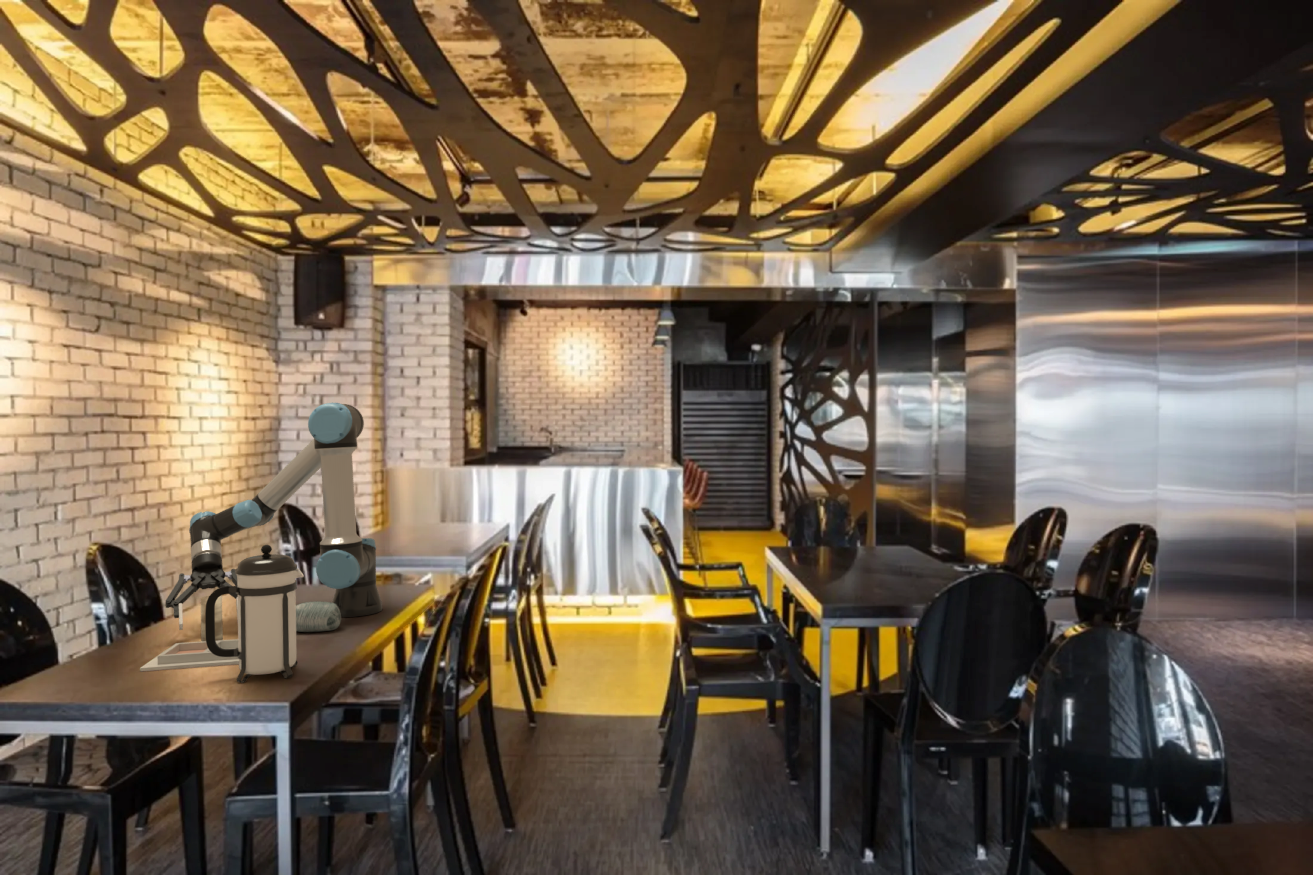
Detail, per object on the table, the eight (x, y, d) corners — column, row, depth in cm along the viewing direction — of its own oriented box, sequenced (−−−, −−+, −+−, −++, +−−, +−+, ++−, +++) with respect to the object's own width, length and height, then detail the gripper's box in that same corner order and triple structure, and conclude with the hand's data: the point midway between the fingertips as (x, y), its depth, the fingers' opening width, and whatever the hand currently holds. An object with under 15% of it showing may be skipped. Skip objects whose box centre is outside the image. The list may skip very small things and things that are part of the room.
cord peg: (225, 638, 213) (224, 594, 213) (219, 643, 208) (218, 598, 208) (204, 640, 212) (204, 595, 212) (198, 644, 207) (197, 599, 207)
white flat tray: (276, 645, 205) (276, 634, 205) (260, 662, 190) (260, 651, 190) (166, 653, 199) (165, 642, 199) (140, 671, 184) (139, 659, 184)
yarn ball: (350, 613, 227) (335, 587, 222) (340, 636, 218) (324, 609, 214) (307, 624, 228) (290, 598, 223) (295, 647, 219) (278, 621, 215)
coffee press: (275, 660, 191) (273, 538, 191) (317, 670, 183) (315, 542, 183) (204, 680, 176) (202, 547, 176) (245, 691, 168) (244, 552, 168)
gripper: (255, 563, 230) (261, 624, 217) (154, 572, 216) (155, 638, 204) (256, 547, 226) (263, 609, 213) (154, 555, 212) (155, 621, 199)
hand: (210, 623), depth 208 cm, fingers open, 13 cm apart
